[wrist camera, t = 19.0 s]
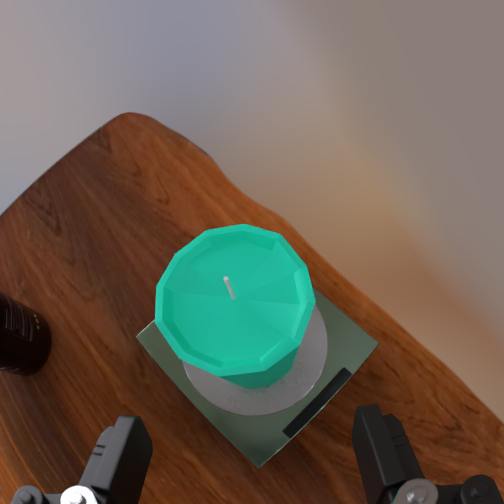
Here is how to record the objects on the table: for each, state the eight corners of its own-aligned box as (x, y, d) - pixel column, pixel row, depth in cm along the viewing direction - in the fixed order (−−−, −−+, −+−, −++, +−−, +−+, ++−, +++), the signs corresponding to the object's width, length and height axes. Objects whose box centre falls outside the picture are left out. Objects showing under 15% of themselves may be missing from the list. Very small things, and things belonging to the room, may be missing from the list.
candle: (227, 402, 19) (169, 401, 9) (196, 321, 22) (122, 238, 11) (313, 367, 20) (354, 323, 9) (276, 289, 23) (273, 178, 12)
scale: (370, 349, 23) (382, 341, 20) (260, 462, 20) (258, 471, 17) (252, 246, 28) (249, 227, 25) (147, 342, 25) (131, 334, 22)
